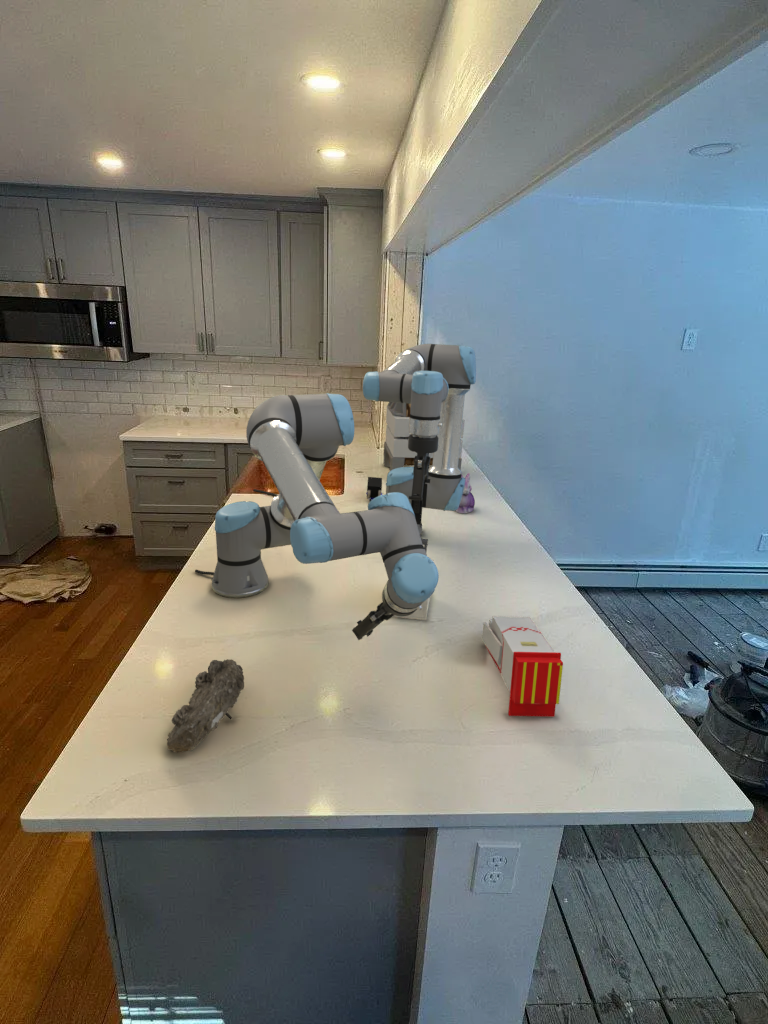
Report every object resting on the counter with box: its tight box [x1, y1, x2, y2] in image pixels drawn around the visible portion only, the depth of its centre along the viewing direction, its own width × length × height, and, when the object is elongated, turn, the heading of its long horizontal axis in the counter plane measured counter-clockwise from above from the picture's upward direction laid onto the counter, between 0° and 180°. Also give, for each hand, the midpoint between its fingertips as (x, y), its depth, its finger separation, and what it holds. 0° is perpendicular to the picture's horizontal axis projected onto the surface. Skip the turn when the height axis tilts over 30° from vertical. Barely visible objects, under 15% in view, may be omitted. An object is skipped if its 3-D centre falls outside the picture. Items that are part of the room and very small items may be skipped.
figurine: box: [455, 472, 476, 514], centre depth 224 cm, size 9×10×15 cm
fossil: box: [166, 658, 245, 754], centre depth 106 cm, size 22×10×15 cm
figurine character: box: [365, 476, 383, 503], centre depth 234 cm, size 7×8×15 cm
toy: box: [481, 615, 564, 718], centre depth 123 cm, size 12×13×30 cm
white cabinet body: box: [392, 596, 431, 621], centre depth 151 cm, size 14×10×10 cm
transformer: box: [383, 402, 465, 472], centre depth 268 cm, size 34×33×41 cm
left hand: (390, 612), depth 125 cm, fingers open, 13 cm apart
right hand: (418, 514), depth 149 cm, fingers open, 13 cm apart
